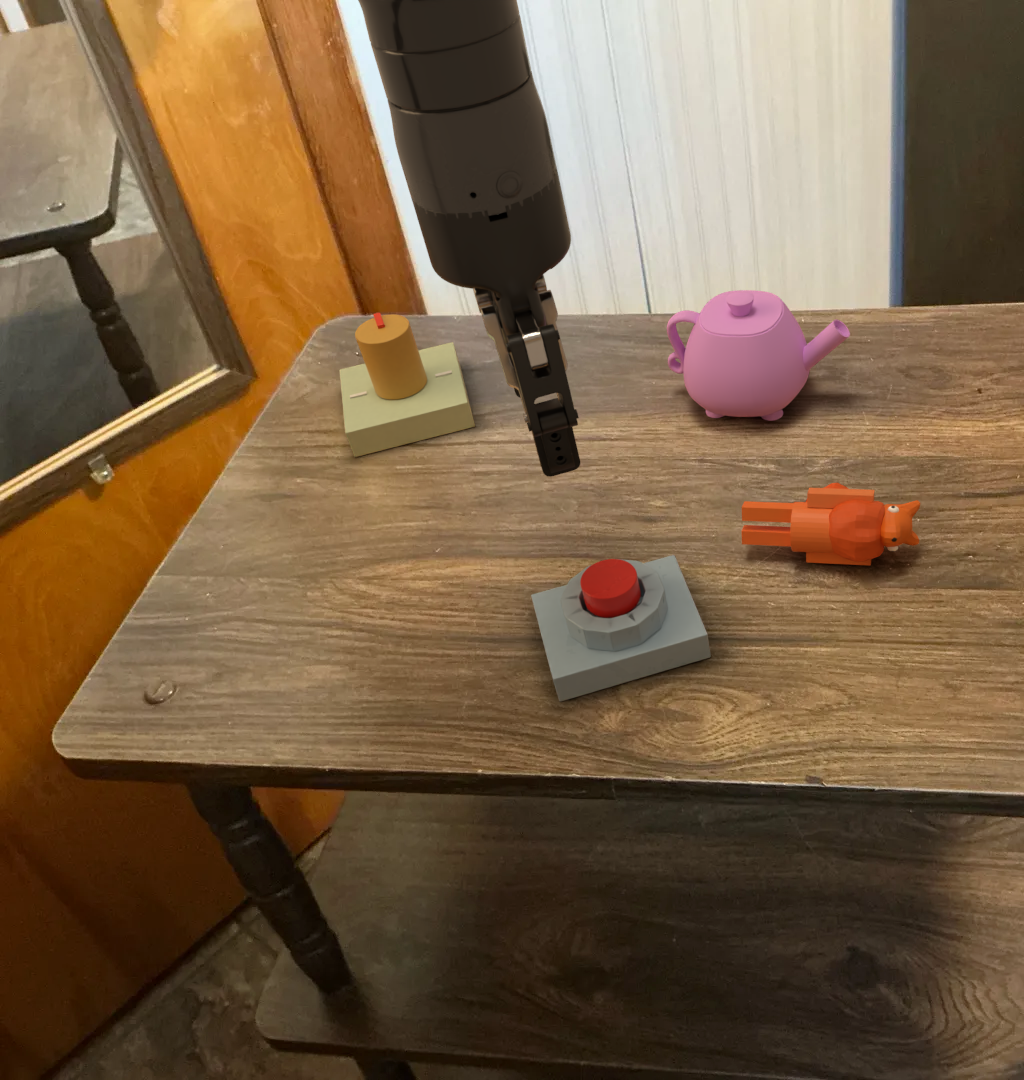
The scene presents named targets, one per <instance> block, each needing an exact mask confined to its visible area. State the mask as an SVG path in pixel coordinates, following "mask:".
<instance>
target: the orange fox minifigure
mask: <svg viewBox="0 0 1024 1080" xmlns="http://www.w3.org/2000/svg"><path fill="white" fill-rule="evenodd" d="M806 495H807V496H806V500H805V501H794V502H771V501H749V500H748V501H746V500H745V501H743V503H742V506H741V522H760V523H761V522H763V523H784V524H785V523H787V524H789V523H790V526H784V525H783V526H782V525H781V526H780V525H779V526H778V525H760V524H759V525H756V524H744V525H743V527H742V529H741V530H740V531H741V545H746V546H747V545H750V546H752V545H753V546H772V547H790V550H791V552H797V553H805V563H810V564H811V563H812V564H814V563H815V564H830V565H832V564H834V565H851V566H852V565H853V566H854V565H856V566H871V564H872V560H873V559H875V558H878V557H880V556H881V555H882V554H883V552H884V551H885V547H886V549H887V550H888V551H889V552H891V553H895V552H896V551H898V550H899V546H901V545H903V544H904V545H908V546H913V547H914V546H917V545H919V544H920V538H919V536H918V535H917V533H916V532H915V531H914V530H913V518H914V516H915V515H916V514H917V512H918V511H919V510H920V508H921V502H920V501H919V500H918V499H917V500H913V501H909V502H905V503H897V504H895V503H886V504H885V503H884V502H882V501H879V500H875V489H860V488H859V489H857V488H849V487H847V486H845V485H843V484H841V483H839V482H832V483H829V484H827V485H826V486H824V487H809V488H808V490H807V493H806Z"/></svg>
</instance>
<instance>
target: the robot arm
mask: <svg viewBox="0 0 1024 1080" xmlns="http://www.w3.org/2000/svg"><path fill="white" fill-rule="evenodd" d="M357 1H358V3H359V6H360V8H361V11H362V15H363V18H364V22H365V27H366V32H367V35H368V39H369V42H370V46H371V50H372V53H373V55H374V56H373V57H374V59H375V62H376V66H377V69H378V74H379V76H380V80H381V83H382V87H383V90H384V93H385V97H386V99H387V103H388V108H389V113H390V118H391V124H392V131H393V137H394V143H395V148H396V151H397V155H398V158H399V163H400V165H401V167H402V168H401V169H402V171H403V175H404V178H405V182H406V186H407V189H408V192H409V195H410V197H411V202H412V206H413V208H414V211H415V215H416V218H417V221H418V224H419V228H420V232H421V235H422V238H423V241H424V245H425V248H426V252H427V255H428V259H429V262H430V265H431V267H432V269H433V271H434V272H435V274H436V275H437V276H438V277H439V278H440V279H442V280H443V281H445V282H447V283H449V284H451V285H454V286H456V287H461V288H465V289H472V290H473V295H474V297H475V302H476V305H477V307H478V311H479V313H480V314H481V318H482V320H483V324H484V328H485V331H486V335H487V336H488V337H489V338H490V339H491V340H493V342H494V345H495V349H496V352H497V355H498V359H499V362H500V365H501V369H502V372H503V376H504V379H505V382H506V384H507V386H509V388H513V390H514V393H515V395H516V396H517V397H518V398H520V401H521V404H522V407H523V411H524V413H522V416H523V421H524V423H526V425H527V430H528V432H531V434H532V438H533V442H534V446H535V451H536V453H537V456H538V461H539V465H540V468H541V470H542V474H543V475H544V476H546V477H550V478H551V477H556V476H558V475H559V476H560V475H562V474H566V473H570V472H573V471H576V470H578V468H579V467H580V466H581V459H580V455H579V449H578V446H577V441H576V437H575V433H574V428H573V427H577V426H578V425H579V423H578V419H579V413H578V410H577V408H575V405H574V401H573V396H572V394H571V389H570V384H569V380H568V376H567V370H568V368H569V364H568V360H567V356H566V352H565V350H564V345H563V342H562V339H561V336H560V333H559V329H558V325H557V320H558V317H559V316H558V315H559V312H558V308H557V306H556V302H555V299H554V295H553V292H552V290H551V289H548V288H547V283H546V279H545V274H546V273H547V272H548V271H549V270H553V269H554V268H555V267H557V266H558V265H559V264H560V263H561V262H562V261H563V260H564V258H565V257H566V255H567V253H568V252H569V250H570V247H571V243H572V234H571V230H570V224H569V220H568V219H569V218H568V214H567V211H566V210H567V209H566V206H565V201H564V196H563V190H562V186H561V182H560V175H559V170H558V165H557V162H556V157H555V152H554V147H553V142H552V138H551V137H552V136H551V132H550V128H549V123H548V119H547V115H546V111H545V108H544V105H543V103H542V100H541V96H540V95H539V92H538V88H537V86H536V83H535V79H534V75H533V72H532V65H531V62H530V57H529V52H528V47H527V42H526V37H525V32H524V28H523V24H522V18H521V13H520V8H519V5H518V4H519V3H518V0H357ZM553 394H556V397H555V398H552V399H548V400H545V401H544V400H543V401H540V402H538V403H537V402H536V403H535V401H536V400H538V398H542V397H545V396H548V395H553Z"/></svg>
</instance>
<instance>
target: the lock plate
mask: <svg viewBox="0 0 1024 1080" xmlns="http://www.w3.org/2000/svg"><path fill="white" fill-rule="evenodd" d="M418 351H419V354H420V357H421V360H422V363H423V366H424V370H425V373H426V376H427V383H426V385H425V386H424V387H423V388H422V389H421V390H420V391H419V392H417V393H416V394H414V395H412V396H409V397H406V398H403V399H396V400H389V399H384V398H381V397H379V396H378V395H377V394H376V392H375V390H374V387H373V384H372V381H371V379H370V376H369V373H368V370H367V368H366V365H365V362H364V363H361V364H357V365H353V366H348V367H344V368H340V369H339V370H338V371H339V380H340V391H341V402H342V413H343V423H344V434H345V436H346V438H347V439H346V440H347V441H348V444H349V447H350V449H351V451H352V454H353V456H354V458H358V457H361V456H365V455H370V454H373V453H377V452H380V451H385V450H389V449H392V448H393V449H394V448H397V447H400V446H404V445H408V444H412V443H416V442H420V441H424V440H428V439H432V438H436V437H440V436H443V435H444V436H445V435H447V434H451V433H455V432H459V431H463V430H468V429H471V428H475V427H476V425H475V420H474V415H473V411H472V407H471V404H470V400H469V399H470V398H469V395H468V391H467V387H466V384H465V380H464V376H463V372H462V367H461V363H460V360H459V356H458V353H457V350H456V347H455V344H454V342H453V341H451V342H447V343H443V344H439V345H434V346H431V347H427V348H423V349H418Z"/></svg>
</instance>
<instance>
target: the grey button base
mask: <svg viewBox="0 0 1024 1080" xmlns="http://www.w3.org/2000/svg"><path fill="white" fill-rule="evenodd" d="M619 559H620V560H624V561H626V562H628V563H630V564H631V565H632V566H633V567H634V568H635V570H636V572H637V576H638V581H639V586H640V591H641V597H640V600H639V602H638V604H637V605H636V606H635V608H633V609H632V610H631V611H630V612H628V613H626V614H624V615H621V616H617V617H612V618H605V617H599V616H597V615H594V614H593V613H591V612H590V611H589V610H588V609H587V607H586V605H585V601H584V597H583V593H582V589H581V585H580V581H581V577H582V575H583V573H584V572H585V570H586V569H587V568H589V567H590V566H591V565H592V564H589V565H588V566H586V567H585V568H583V569H581V571H579V572H578V573H576V574H575V575H574V576H572V577H571V578H570V579H569V580H568V581H567V584H564V585H560V586H557V587H553V588H550V589H547V590H543V591H539V592H534V593H532V594H531V595H530V597H531V601H532V606H533V609H534V613H535V617H536V620H537V624H538V629H539V632H540V637H541V640H542V643H543V647H544V648H543V649H544V651H545V655H546V659H547V663H548V666H549V670H550V674H551V678H552V682H553V685H554V688H555V692H556V696H557V698H558V701H559V702H564V701H568V700H572V699H575V698H578V697H581V696H584V695H585V696H586V695H587V694H592V693H595V692H598V691H601V690H606V689H608V688H611V687H615V686H619V685H622V684H625V683H628V682H631V681H635V680H638V679H642V678H646V677H649V676H653V675H656V674H658V673H662V672H666V671H668V670H672V669H675V668H679V667H682V666H686V665H689V664H692V663H696V662H700V661H703V660H706V659H709V658H710V659H711V657H712V653H711V647H710V641H709V633H708V632H707V629H706V627H705V625H704V622H703V619H702V617H701V614H700V613H699V610H698V607H697V605H696V603H695V600H694V599H693V595H692V593H691V591H690V588H689V586H688V583H687V581H686V579H685V576H684V574H683V572H682V568H681V566H680V564H679V562H678V559H677V557H676V555H675V554H671V555H668V556H664V557H661V558H657V559H654V560H650V561H646V562H642V561H640V560H634V559H624V558H623V559H622V558H619Z"/></svg>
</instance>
